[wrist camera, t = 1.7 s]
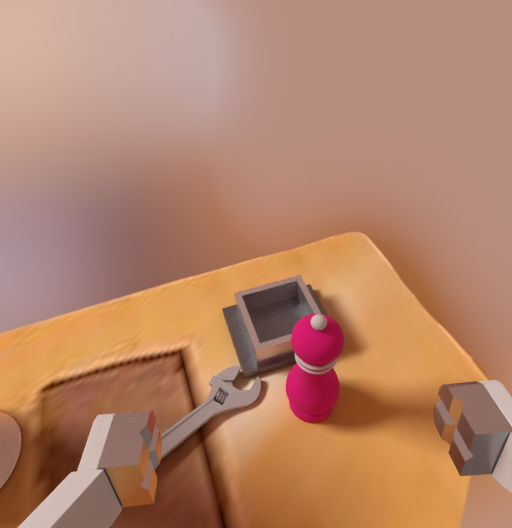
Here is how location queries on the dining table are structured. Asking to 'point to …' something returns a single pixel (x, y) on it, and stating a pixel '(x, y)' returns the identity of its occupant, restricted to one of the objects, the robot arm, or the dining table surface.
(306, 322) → the pepper mill
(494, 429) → the robot arm
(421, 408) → the dining table surface
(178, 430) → the adjustable wrench
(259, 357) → the socket stand
